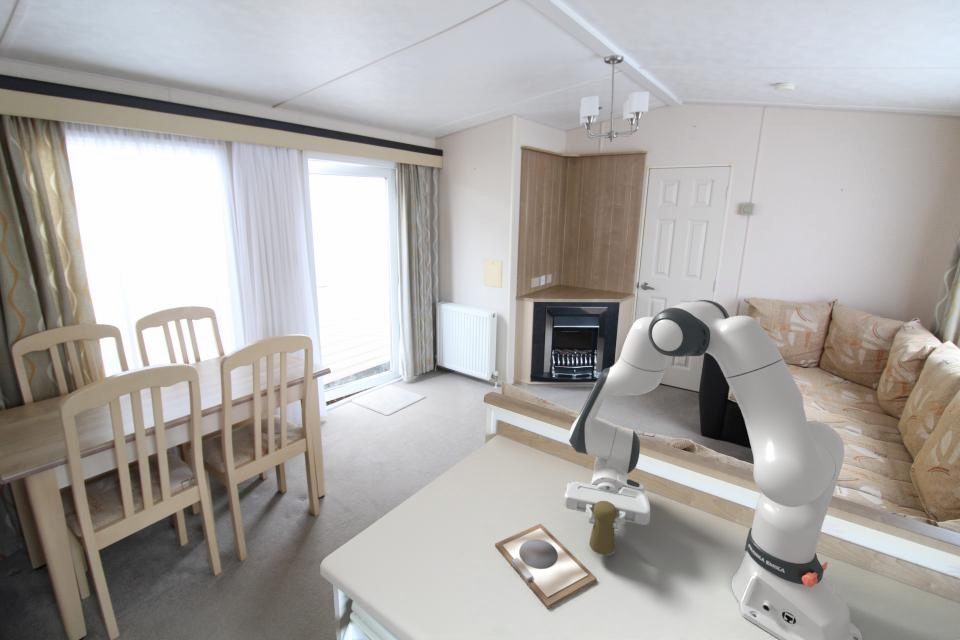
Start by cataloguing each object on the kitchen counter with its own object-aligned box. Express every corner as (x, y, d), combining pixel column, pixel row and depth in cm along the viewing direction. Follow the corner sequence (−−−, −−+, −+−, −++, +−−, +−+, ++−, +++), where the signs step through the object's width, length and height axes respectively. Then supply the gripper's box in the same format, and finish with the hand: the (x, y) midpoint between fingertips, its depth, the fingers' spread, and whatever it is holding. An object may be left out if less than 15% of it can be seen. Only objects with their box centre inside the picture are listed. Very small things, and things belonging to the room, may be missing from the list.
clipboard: (596, 580, 100) (596, 575, 100) (547, 608, 93) (547, 602, 93) (540, 526, 117) (540, 520, 116) (495, 546, 110) (495, 540, 109)
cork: (617, 556, 103) (620, 515, 100) (589, 553, 104) (593, 512, 101) (614, 537, 108) (617, 498, 106) (588, 534, 109) (591, 495, 107)
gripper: (568, 470, 119) (559, 502, 106) (650, 486, 112) (651, 522, 100) (567, 491, 120) (558, 525, 108) (648, 507, 114) (649, 545, 101)
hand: (604, 523), depth 104 cm, fingers closed on cork, 4 cm apart
